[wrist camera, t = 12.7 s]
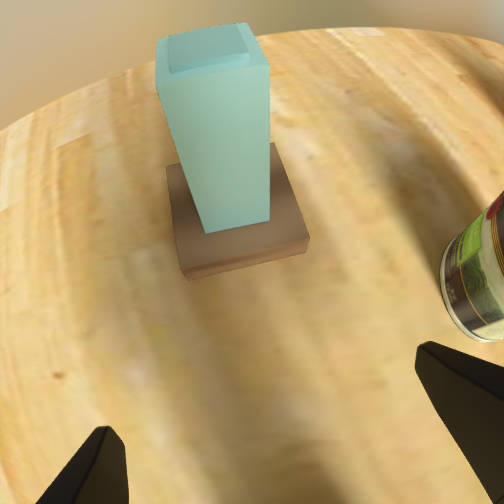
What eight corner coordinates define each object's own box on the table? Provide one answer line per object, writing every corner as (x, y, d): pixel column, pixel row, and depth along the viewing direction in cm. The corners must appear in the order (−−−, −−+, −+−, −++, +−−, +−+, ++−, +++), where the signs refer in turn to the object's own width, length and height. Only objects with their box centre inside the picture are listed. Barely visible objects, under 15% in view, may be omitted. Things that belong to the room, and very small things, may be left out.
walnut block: (304, 254, 25) (309, 237, 22) (189, 282, 24) (180, 268, 21) (273, 164, 28) (273, 142, 26) (174, 187, 28) (166, 166, 25)
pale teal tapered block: (269, 220, 23) (269, 57, 11) (205, 233, 22) (153, 79, 11) (255, 171, 24) (246, 17, 13) (197, 183, 24) (155, 34, 12)
